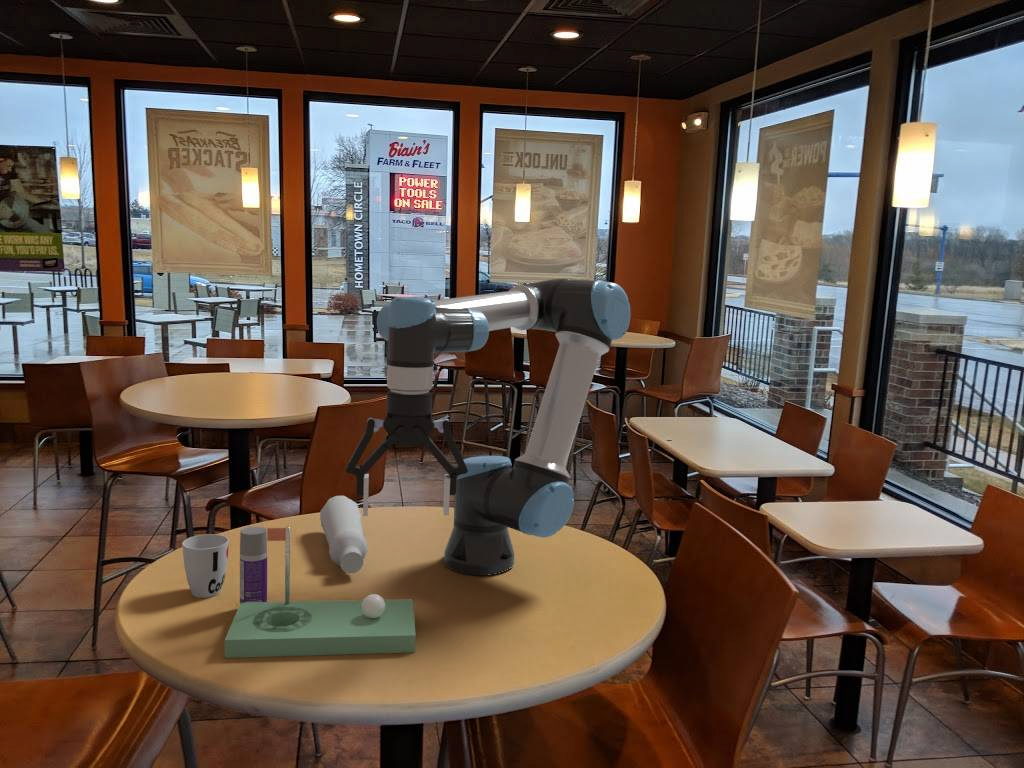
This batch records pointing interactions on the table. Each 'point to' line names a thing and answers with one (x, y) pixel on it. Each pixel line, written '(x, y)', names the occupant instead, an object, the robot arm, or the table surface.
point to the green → (319, 629)
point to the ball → (373, 606)
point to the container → (253, 564)
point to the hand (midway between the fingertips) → (406, 513)
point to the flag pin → (284, 535)
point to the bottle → (344, 533)
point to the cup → (205, 563)
